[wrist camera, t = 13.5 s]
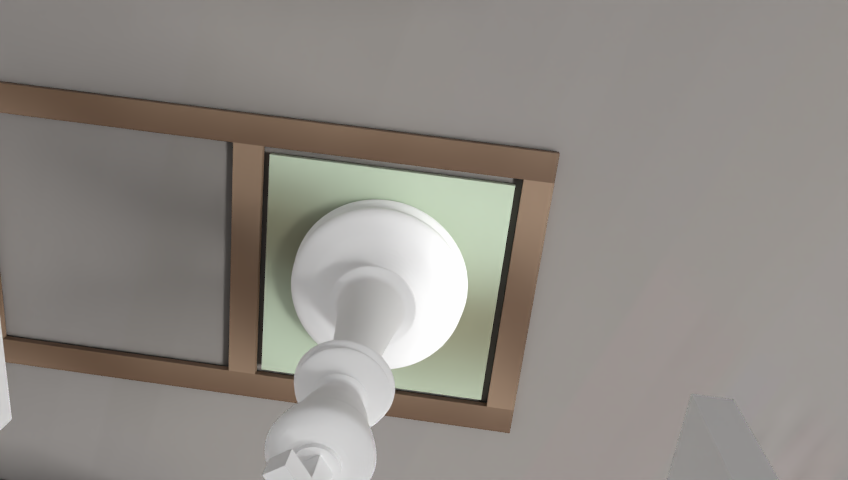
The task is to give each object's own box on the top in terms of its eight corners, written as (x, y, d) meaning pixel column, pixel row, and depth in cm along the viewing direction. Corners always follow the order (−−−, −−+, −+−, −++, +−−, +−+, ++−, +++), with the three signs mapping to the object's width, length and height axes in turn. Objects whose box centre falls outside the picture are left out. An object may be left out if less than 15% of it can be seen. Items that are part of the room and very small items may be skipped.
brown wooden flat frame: (-324, 40, 20) (-331, 41, 20) (558, 152, 19) (559, 153, 19) (-257, 321, 23) (-263, 324, 23) (508, 429, 22) (509, 433, 22)
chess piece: (349, 385, 22) (245, 696, 12) (261, 246, 20) (68, 473, 11) (498, 318, 20) (511, 603, 11) (414, 167, 19) (349, 342, 10)
